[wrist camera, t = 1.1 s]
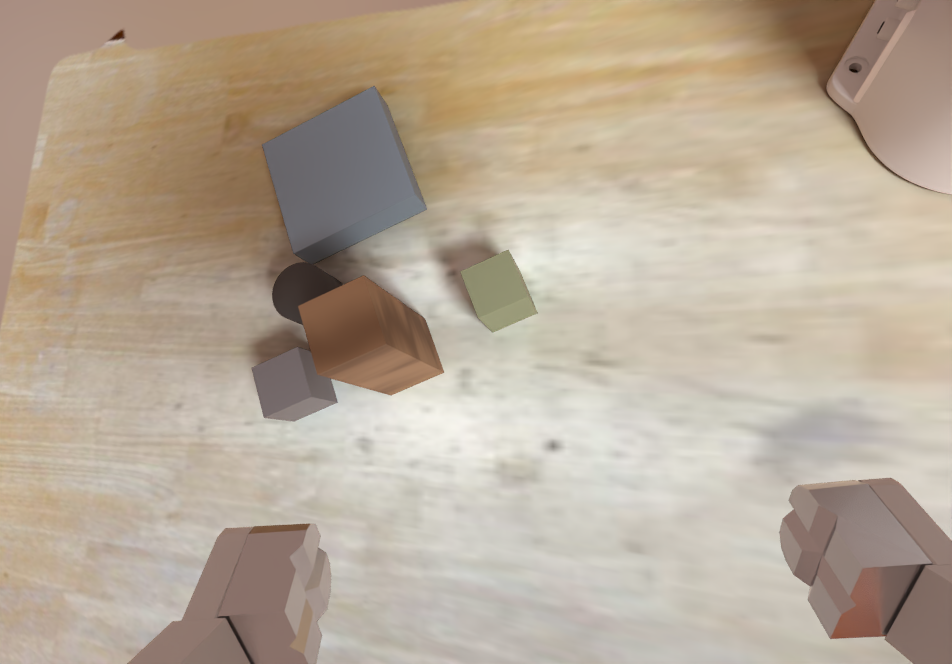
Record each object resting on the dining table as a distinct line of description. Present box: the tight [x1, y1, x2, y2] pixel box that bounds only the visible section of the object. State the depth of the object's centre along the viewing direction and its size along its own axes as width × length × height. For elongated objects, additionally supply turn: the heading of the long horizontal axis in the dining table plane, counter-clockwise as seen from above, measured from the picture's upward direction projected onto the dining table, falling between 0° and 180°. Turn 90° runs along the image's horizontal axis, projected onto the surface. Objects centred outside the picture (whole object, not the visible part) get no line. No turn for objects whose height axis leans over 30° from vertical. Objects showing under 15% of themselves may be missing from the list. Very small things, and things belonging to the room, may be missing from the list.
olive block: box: [460, 250, 537, 332], centre depth 44 cm, size 4×4×5 cm
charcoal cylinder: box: [272, 263, 342, 325], centre depth 49 cm, size 5×5×4 cm
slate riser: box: [262, 86, 427, 264], centre depth 52 cm, size 12×12×3 cm
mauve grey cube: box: [252, 347, 338, 421], centre depth 48 cm, size 4×4×4 cm
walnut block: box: [298, 275, 444, 395], centre depth 42 cm, size 5×5×12 cm
